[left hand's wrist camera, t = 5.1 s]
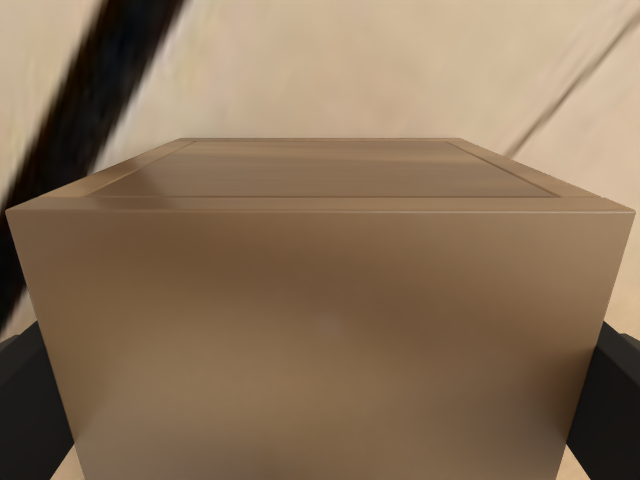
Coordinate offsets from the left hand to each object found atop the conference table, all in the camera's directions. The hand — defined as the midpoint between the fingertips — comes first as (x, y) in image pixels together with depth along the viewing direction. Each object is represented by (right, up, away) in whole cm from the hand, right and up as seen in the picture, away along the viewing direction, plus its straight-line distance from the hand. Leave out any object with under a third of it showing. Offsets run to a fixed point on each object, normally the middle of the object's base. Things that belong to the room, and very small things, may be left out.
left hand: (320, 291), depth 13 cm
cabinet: (0, -4, +7) cm, 8 cm away
